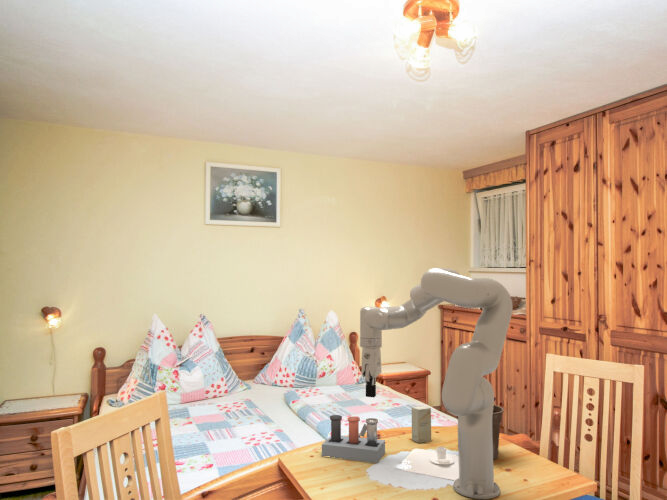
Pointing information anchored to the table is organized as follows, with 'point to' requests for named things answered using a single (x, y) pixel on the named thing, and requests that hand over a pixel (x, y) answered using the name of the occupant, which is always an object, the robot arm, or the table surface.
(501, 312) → the robot arm
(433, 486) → the table surface
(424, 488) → the table surface
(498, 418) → the plant pot
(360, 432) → the grey white bent piece
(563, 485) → the table surface
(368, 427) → the plug grey
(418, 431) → the skincare box
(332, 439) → the plug black
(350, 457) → the socket board
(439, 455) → the teacup and saucer
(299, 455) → the table surface
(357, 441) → the plug red
